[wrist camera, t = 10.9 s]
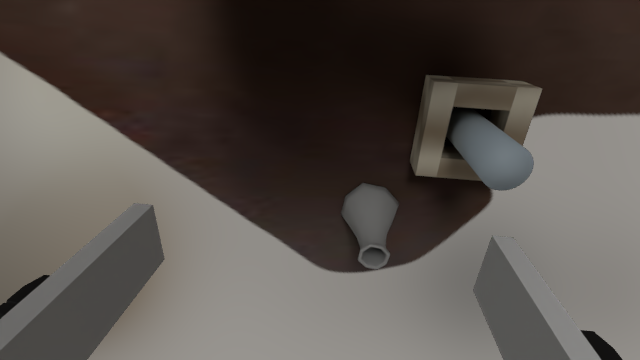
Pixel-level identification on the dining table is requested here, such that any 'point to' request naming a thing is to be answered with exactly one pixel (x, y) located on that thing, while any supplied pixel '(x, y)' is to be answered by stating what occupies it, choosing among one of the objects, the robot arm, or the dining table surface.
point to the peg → (489, 150)
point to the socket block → (447, 92)
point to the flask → (370, 222)
